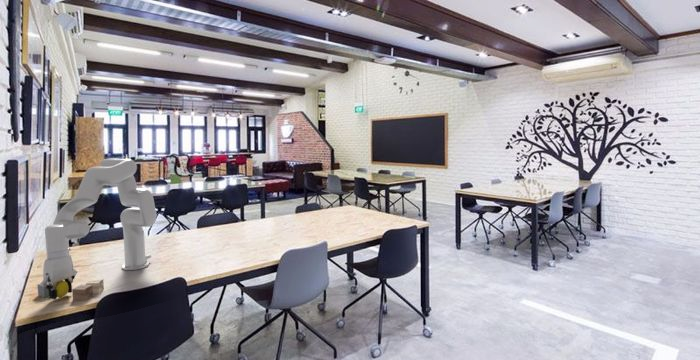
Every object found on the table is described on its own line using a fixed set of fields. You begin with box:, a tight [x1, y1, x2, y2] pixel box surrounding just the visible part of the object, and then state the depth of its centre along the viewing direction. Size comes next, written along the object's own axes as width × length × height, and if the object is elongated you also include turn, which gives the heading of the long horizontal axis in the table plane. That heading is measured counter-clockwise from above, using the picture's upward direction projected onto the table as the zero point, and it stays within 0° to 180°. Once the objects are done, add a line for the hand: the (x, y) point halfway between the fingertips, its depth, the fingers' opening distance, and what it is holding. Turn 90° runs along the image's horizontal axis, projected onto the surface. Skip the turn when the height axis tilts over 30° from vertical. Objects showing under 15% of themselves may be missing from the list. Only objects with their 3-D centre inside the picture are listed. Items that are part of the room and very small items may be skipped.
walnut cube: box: [71, 284, 94, 302], centre depth 159 cm, size 5×5×5 cm
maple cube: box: [85, 278, 105, 295], centre depth 166 cm, size 5×5×5 cm
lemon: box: [55, 280, 69, 299], centre depth 158 cm, size 6×6×8 cm
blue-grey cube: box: [37, 282, 52, 299], centre depth 162 cm, size 5×5×5 cm
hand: (60, 295), depth 159 cm, fingers open, 6 cm apart
